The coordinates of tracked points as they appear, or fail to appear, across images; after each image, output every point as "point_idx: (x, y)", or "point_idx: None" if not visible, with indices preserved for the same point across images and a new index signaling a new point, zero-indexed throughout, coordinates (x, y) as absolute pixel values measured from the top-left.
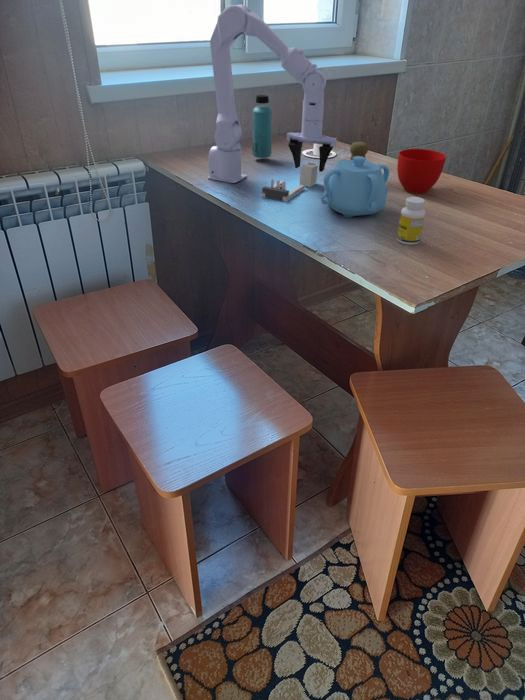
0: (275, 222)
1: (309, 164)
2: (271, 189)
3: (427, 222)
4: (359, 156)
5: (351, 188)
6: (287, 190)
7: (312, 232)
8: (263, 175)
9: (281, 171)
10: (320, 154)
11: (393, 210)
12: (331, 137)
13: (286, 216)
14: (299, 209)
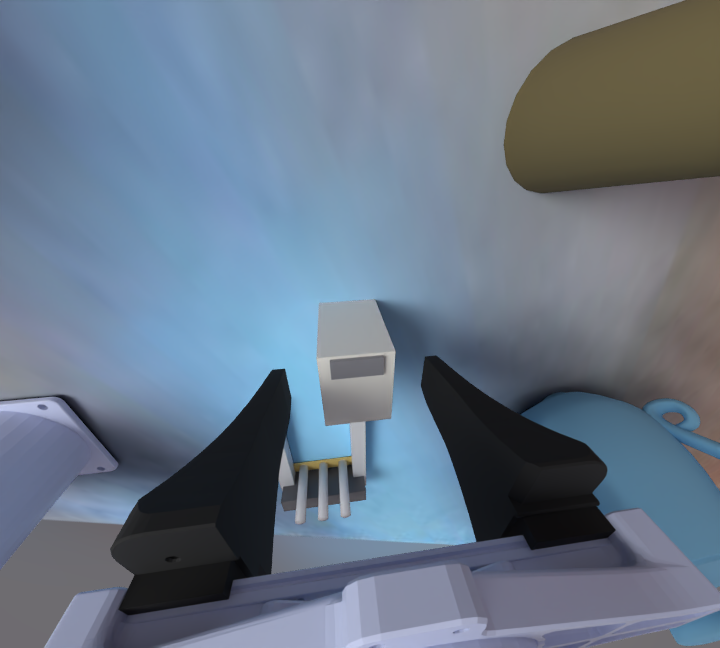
0: (396, 532)
1: (347, 374)
2: (316, 506)
3: (712, 405)
4: (718, 638)
5: None
6: (361, 491)
7: (469, 524)
8: (85, 336)
9: (74, 212)
10: (468, 492)
11: (651, 386)
12: (670, 616)
13: (403, 513)
14: (414, 484)
